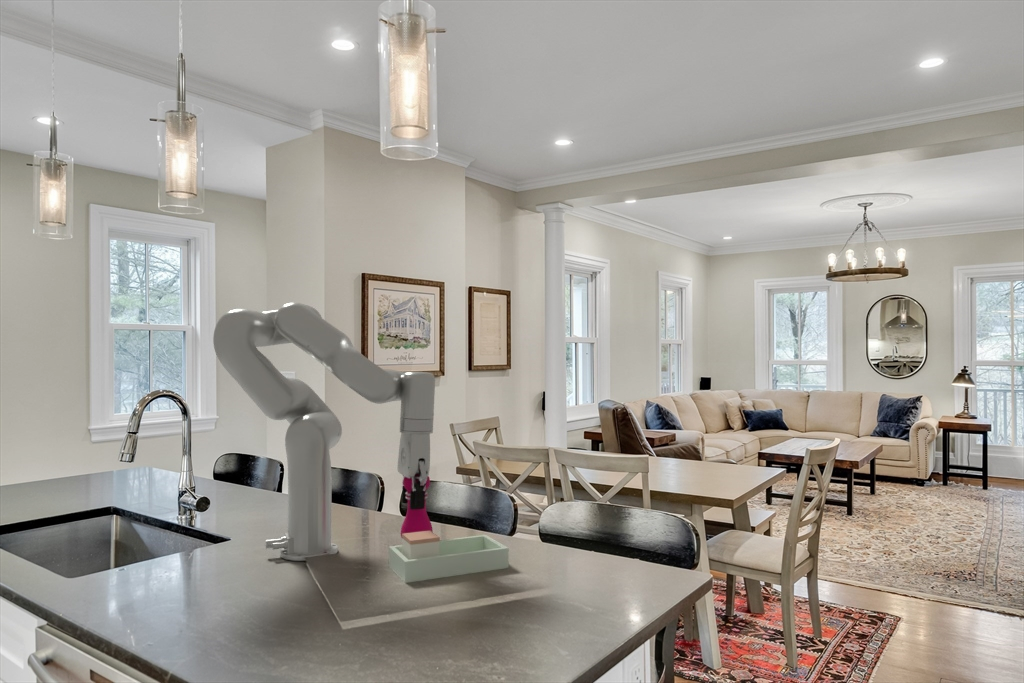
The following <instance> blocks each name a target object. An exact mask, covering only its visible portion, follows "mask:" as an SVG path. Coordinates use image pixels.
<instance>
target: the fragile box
mask: <svg viewBox="0 0 1024 683" xmlns="http://www.w3.org/2000/svg"><path fill="white" fill-rule="evenodd" d="M440 537H441V536H439V535H438V534H435V532H434V531H433V532H432V531H421V532H413V533H404V534H402V538H401V540H402V541H401V545H402V554H403V555H404V556H405V557H406V558H407V559H408V560H411V559H419V558H426V557H434V556H439V541H440V540H441V538H440Z"/></svg>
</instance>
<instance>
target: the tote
mask: <svg viewBox="0 0 1024 683" xmlns="http://www.w3.org/2000/svg"><path fill="white" fill-rule="evenodd" d="M509 551H510V549H509V547H508V546H506V545H504V544H502V543H501V542H499V541H497V540H495V539H494V538H492V537H491V536H489V535H487V534H480V535H473V536H465V537H457V538H455V537H454V538H447V539H440V541H439V556H434V557H426V558H419V559H411V560H408V559H407V558H406V557H405V556H404V555H403V554H402V544H399V545H398V544H397V545H390V546H388V567H389V568H390V569H391V570H392V571H393V573H395V574H396V576H397V577H399V579H400V580H401V581H402V582H403V583H405V584H407V583H414V582H421V581H429V580H430V581H431V580H434V579H442V578H448V577H449V578H450V577H454V576H455V577H456V576H463V575H469V574H476V573H477V574H478V573H484V572H489V571H497V570H503V569H509V560H510V558H509V554H510V553H509Z"/></svg>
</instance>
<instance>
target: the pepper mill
mask: <svg viewBox="0 0 1024 683" xmlns="http://www.w3.org/2000/svg"><path fill="white" fill-rule="evenodd" d="M415 477H420V475H419V474H416V475H415ZM417 481H419V480H416V483H417ZM402 482H403V483H402V486H404V487H405V489H406V490H407V492H406V493H405V494H406V499H407V501H408V503H407V510H406V515H405V517H404V519H403V522H402V525H401V528H400V537H401V539H402V534H404V533H413V532H421V531H432V532H433V533H434V531H433V530H434V529H433V525H432V523H431V520H430V518H429V516H428V513H427V507H426V506H427V505H426V499H428V497H429V496H428V493H429V492H428V491H427V490H428V488H429V487H430V485H431V480H430V476H429V475H428V477H427V481H426V484H425V488H426V489H425V504H424V509H410V493H411V491H412V476H411V478H407V477H404V480H403V479H402Z"/></svg>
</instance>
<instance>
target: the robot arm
mask: <svg viewBox="0 0 1024 683" xmlns="http://www.w3.org/2000/svg"><path fill="white" fill-rule="evenodd" d="M212 340H213V348H214V349H213V350H214V352H215V354H216V358H217V359H218V360H219V362H220V364H221V365H222V367H223V368H224V369H225V371H226V372H227V373H228V374H229V375H230V376H231V377H232V378H233V379H234V380H235V381H236V383H237V384H238V385H239V386H240V387H241V389H242V390H243V391H244V392H245V394H246V395H248V397H249V398H250V399H251V400H252V402H253V403H255V405H256V406H257V407H258V408H259V410H260V411H261V412H262V413H263V414H264V415H265V416H266V417H267V418H269V419H271V420H274V421H284V420H287V422H288V423H289V426H288V427H287V429H286V431H285V432H286V433H285V438H284V443H285V444H284V445H285V446H284V447H285V452H286V453H285V454H286V460H287V461H286V462H287V532H285V533H284V536H280V538H277V539H276V538H275V539H274V538H271V539H269V538H268V539H265V549H266V550H267V549H272V550H278V549H280V551H279V556H280V557H281V558H282V559H284V560H288V561H295V562H305V561H307V560H306V558H313V557H320V556H327V555H335V554H337V553H338V551H339V545H338V544H336V543H334V542H332V487H333V486H332V464H331V463H332V462H331V456H330V450H331V449H333V448H334V447H335V446H336V445H337V444H338V443H339V442H340V441H341V438H342V434H343V432H342V430H343V429H342V424H341V422H340V420H339V418H338V416H336V414H335V413H334V412H333V411H332V409H331V408H330V407H329V406H328V405H327V403H326V402H324V401H323V399H322V398H320V396H319V395H318V394H317V393H316V392H315V390H313V388H311V387H310V386H309V385H308V384H307V383H305V382H304V381H302V380H300V379H297V378H293V377H292V378H291V377H290V378H288V377H286V376H284V375H283V374H282V373H281V371H279V370H278V368H277V367H276V366H275V365H274V364H273V362H272V361H270V359H269V358H268V357H267V356H266V355H264V354H263V353H262V352H261V351H260V350H259V349H258V348H257V347H260V348H261V347H263V348H264V347H270V346H276V345H284V344H293V345H295V346H297V347H298V348H299V349H301V350H302V351H303V352H305V353H306V354H308V355H309V356H310V357H312V358H313V359H314V360H316V361H317V362H318V363H320V364H322V366H324V367H325V368H326V370H328V372H330V373H331V374H333V375H334V377H335V378H337V379H338V380H339V381H341V382H342V383H343V384H344V385H346V386H347V387H348V388H349V389H351V390H352V391H354V392H355V393H356V394H358V395H360V397H363V398H364V399H366V400H367V401H369V402H371V403H374V404H377V405H378V404H380V405H382V404H386V403H391V402H397V401H400V415H399V416H400V418H399V433H400V438H399V439H400V440H399V447H398V448H399V449H398V455H397V456H398V457H397V459H398V460H397V472H398V473H399V474H401V475H402V484H403V480H404V477H407V478H411V476H412V491H411V493H410V509H424V504H425V489H426V488H425V484H426V481H427V477H428V476H429V475H430V469H431V468H430V467H431V435H430V434H433V432H434V431H433V430H434V415H435V414H434V413H435V395H436V394H435V392H436V391H435V389H436V377H435V374H433V373H432V372H427V371H406V372H405V371H399V370H395V369H385V368H381V367H380V366H378V365H377V364H376V363H374V362H373V361H372V360H370V359H369V358H367V357H366V356H365V355H363V354H362V353H361V352H360V351H359V350H358V349H357V348H356V347H355V346H354V345H353V343H352V341H351V338H349V337H348V335H347V334H346V333H344V332H342V331H341V330H339V329H338V328H337V327H335V326H334V325H332V324H331V323H329V322H328V321H327V320H325V319H324V318H323V317H322V316H321V313H320V312H319V311H318V310H317V309H316V308H314V307H313V306H310V305H308V304H307V305H306V304H303V303H300V302H289V303H285V304H283V305H282V306H281V307H279V308H278V309H275V310H268V311H257V310H251V309H246V308H236V309H231V310H228V311H226V312H225V313H224V314H223V315H222V316H221V317H219V319H218V321H217V323H216V325H215V327H214V331H213V337H212ZM416 474H419V475H420V477H415V475H416ZM416 480H419V481H417V483H416ZM401 488H402V491H401V503H402V504H408V501H407V499H406V494H405V493H406V492H407V490H406V489H405V487H404V485H402V486H401Z"/></svg>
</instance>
